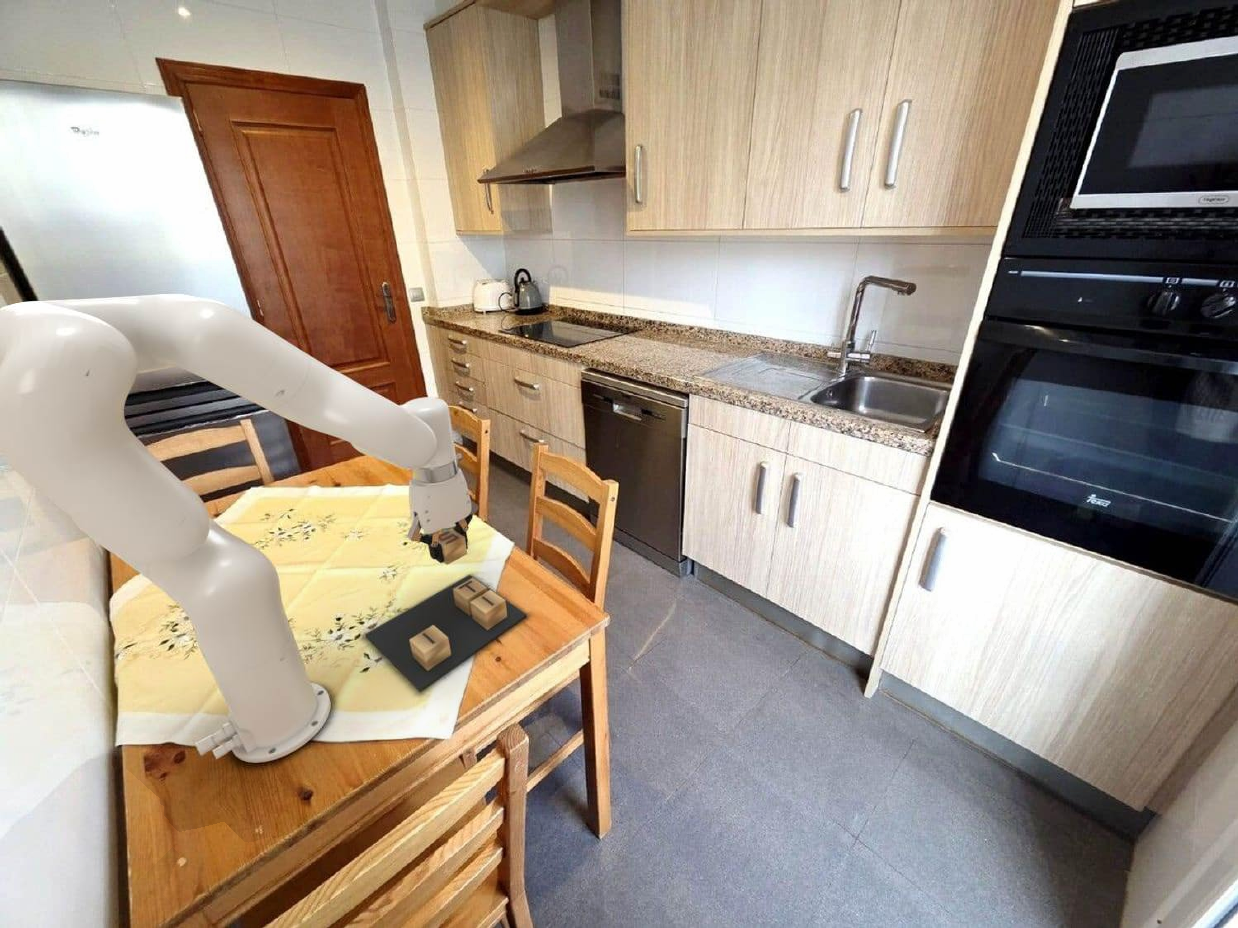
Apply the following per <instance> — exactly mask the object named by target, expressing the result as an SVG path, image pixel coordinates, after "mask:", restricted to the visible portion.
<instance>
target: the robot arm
mask: <svg viewBox="0 0 1238 928" xmlns="http://www.w3.org/2000/svg"><path fill="white" fill-rule="evenodd" d="M172 368H173V369H174V368H177V369H182V370H184V371H187V372H189V373H191V374H192V375H195V376H198V377H200V378H202V379H204V380H206V381H208V382H210V383H212V384H214V385H217V386H219V387H220V388H222V389H225V390H226V391H229V392H231V393H232V394H235V395H237V396H239V397H242V399H243V398H244V399H245V400H247V401H249V402H251V403H254V404H256V405H258V406H260V407H262V408H264V409H266V410H268V411H270V412H272V413H274V414H276V415H278V416H279V417H282V418H284V419H285V420H289V421H291V422H293V423H296V424H298V425H300V426H303V427H305V428H307V429H310V430H313V431H316V432H319V433H322V434H326V435H328V436H332V437H335V438H337V439H340V440H343V441H345V442H347V443H350V444H351V446H352V447H353V448H354V449H355V450H356V451H358V452H360V453H361V454H362V455H365V456H367V457H370V458H373V459H375V460H378V461H382V462H385V463H388V464H390V465H392V466H395V467H397V468H399V469H403V470H410V471H411V472H412V476H413V477H412V478H410V479H409V481H408V504H409V513H410V518H411V526H410V528H409V531H408V533H407V535H406V538H407V539H408V540H409V541H412V542H418V543H422V544H425V545H427V547H428V551H429V556H430V558H431V559H432V560H435V561H437V562H438V563H439V564H444V557H443V552H442V545H441V544H440V543H438V538H439V530H441V529H443V528H445V527H447V526H450V525H452V524H455V526H456V527H453V528H454V529H453V530H454V531H456V532H457V533H459V534H461V535H462V536H464V537H465V542H466V548H467V550H469V547H468V542H469V540H468V539H469V538H468V534H467V531H468V530H469V527H470V526H469V525H470V523H471V521H472V520H473V518H474V515H475V514H476V513H477V512H478V510H479V509H480V506H479V505H478V504H477V503H476V502H475V501H473V500H471V495H470V490H469V487H468V483H467V481H466V478H465V476H464V473H463V470H462V469H461V468H460V466H459V462H460V461H462V460H463V455H462V453H461V452H457V453H456V446H455V439H454V432H453V431H454V430H453V425H452V419H451V418H452V417H451V413H450V408H449V405H448V403H447V402H446V401H445V400H444V399H442V398H439V397H434V396H425V397H418V398H414V399H411V400H407V402H405V403H403V404H400V405H398V404H397V403H395V402H393V401H392V400H390V399H388V398H386V397H384V396H383V395H380V394H379V393H377V392H375V391H373V390H371V389H369V388H368V387H366V386H364V385H362V384H360V383H358V382H357V381H355V380H353V379H352V378H350V377H348V376H346V375H345V374H343V373H341V372H339V371H337V370H336V369H333V368H331V367H329V366H328V365H326V364H324V363H323V362H321V361H320V360H318V359H316V358H315V357H313V356H311V355H310V354H308V353H307V352H305V351H303V350H301V349H300V348H298V347H297V346H295V345H294V344H292V343H291V342H289V341H287V340H285V339H284V338H283V337H281V336H280V335H278V334H276V333H275V332H273V331H272V330H270V329H268V328H267V327H266V326H263V325H262V324H260V323H259V322H257V321H256V320H254V319H252V318H251V317H249V316H248V315H246V314H244V313H243V312H241V311H239V310H237V309H236V308H234V307H232V306H230V305H228V304H225V303H223V302H221V301H217V300H214V299H209V298H203V297H197V296H191V295H186V294H178V293H170V294H169V293H168V294H167V293H165V294H163V293H162V294H149V295H134V296H133V295H132V296H118V297H98V298H97V297H96V298H76V299H54V300H52V299H51V300H34V301H33V300H32V301H24V302H23V301H22V302H18V303H12V304H10V305H6V306H3V307H1V308H0V456H1V457H2V459H4V460H5V462H6V463H7V464H8V465H9V466H10V467H11V468H12V469H13V470H14V471H15V472H16V473H17V474H18V475H19V476H20V477H22V478H23V479H24V480H25V481H27V482H28V483H29V484H30V485H32V487H34V488H35V489H36V490H38V491H39V492H40V493H41V494H43V495H44V496H45V497H46V498H48V499H49V500H50V501H51V502H52V503H53V504H54V505H56V506H57V507H58V508H59V509H60V510H62V511H63V512H64V513H66V514H67V515H68V516H69V517H70V518H71V520H72V522H73V523H74V524H75V526H77V527H78V529H80V530H81V531H82V532H83V533H84V534H86V536H88V537H90V538H91V539H92V540H93V541H94V542H96V543H97V544H98V545H99V546H101V547H102V548H104V549H106V550H107V551H108V552H110V553H112V554H113V555H115V556H116V557H117V558H119V559H120V560H121V561H123V562H124V563H126V564H127V565H128V566H130V567H131V568H132V569H134V570H135V571H136V572H138V573H139V574H141V576H143V577H145V578H146V579H147V580H148V581H149V582H151V583H152V584H153V585H155V586H156V587H157V588H158V589H159V590H161V591H162V592H163V593H164V594H166V596H167V597H169V598H170V599H171V600H172V601H173V602H174V603H176V605H178V606H179V607H180V608H181V609H182V610H183V612H184V613H185V615H186V616H187V618H188V620H189V621H190V623H191V626H192V629H193V632H194V637H195V640H196V643H197V646H198V648H199V651H200V653H201V656H202V658H203V659H204V662H205V664H206V665H207V668H208V669H209V671H210V673H211V675H212V677H213V679H214V681H215V684H216V685H217V688H218V689H219V692H220V694H221V697H222V698H223V700H224V702H225V704H226V707H227V708H228V710H229V712H227V718H228V719H229V720H228V721H227V722H224V723H223V724H221V726H222V728H220V729H219V730H217V731H215V732H213V733H212V734H209V735H207V736H205V737H203V738H202V739H200V740H198V741H196V742H194V745H195V748H196V749H197V751H198V754H199V756H200V757H203V756H204V755H205V754H207V753H209V752H212V754H213V756H214V757H215V759H216V760H218V759H220V758H221V757H223V756H225V755H226V754H228V753H229V752H230V751H232V753H233V754H234V756H235V757H236V758H238V760H241V761H244V762H247V763H254V764H256V763H266V762H271V761H275V760H278V759H280V758H283V757H285V756H287V755H289V754H291V753H293V752H295V751H297V750H298V749H300V748H301V747H303V746H304V745H306V744H307V743H308V742H309V741H311V740H312V739H313V738H314V737H315V736H316V735H317V733H318V732H319V731H321V729H322V727H323V726H324V725H325V723H326V722H327V719H328V718H329V715H330V713H331V707H332V706H331V705H332V702H331V699H330V695H329V693H328V691H327V690H326V689H325V688H324V687H323V686H322V685H320V684H318V683H314V682H311V679H310V676H309V674H308V671H307V667H306V665H305V662H304V660H303V657H302V654H301V652H300V648H299V646H298V644H297V641H296V638H295V635H294V632H293V630H292V627H291V624H290V621H289V619H288V616H287V614H286V609H285V607H284V603H283V598H282V593H281V592H282V591H281V583H280V577H279V574H278V571H277V568H276V567H275V565H274V564H273V562H272V561H271V560H270V558H269V557H268V556H267V555H265V553H264V552H262V551H261V549H258V548H257V547H256V546H254V545H253V544H251V543H250V542H248V541H246V540H244V539H242V538H241V537H239V536H237V535H235V534H233V533H232V532H230V531H228V530H227V529H225V528H224V527H222V526H221V525H219V523H217V522H216V521H215V520H214V519H213V518H211V517H210V513H209V510H208V509H207V506H206V504H205V502H204V501H203V499H202V498H201V496H199V494H198V493H197V492H196V491H195V490H193V489H192V488H191V487H190V486H189V485H187V483H185V482H183V481H182V480H181V479H179V478H178V477H177V476H176V475H175V474H174V473H173V472H172V471H171V470H169V468H168V467H167V466H165V464H164V463H162V462H161V461H160V459H158V458H157V457H156V456H155V455H154V454H153V453H151V451H150V450H149V449H148V448H147V447H146V446H145V444H144V443H143V442H142V441H141V440H140V439H139V438H138V437H137V436H136V435H135V434H134V433H133V431H132V430H130V428H129V426H128V424H127V422H126V418H125V405H126V401H127V398H128V396H129V394H130V392H131V390H132V388H133V386H134V384H135V381H136V379H137V376H138V374H144V373H150V372H155V371H161V370H167V369H172ZM421 530H423V533H421ZM224 742H225V743H224Z"/></svg>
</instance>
